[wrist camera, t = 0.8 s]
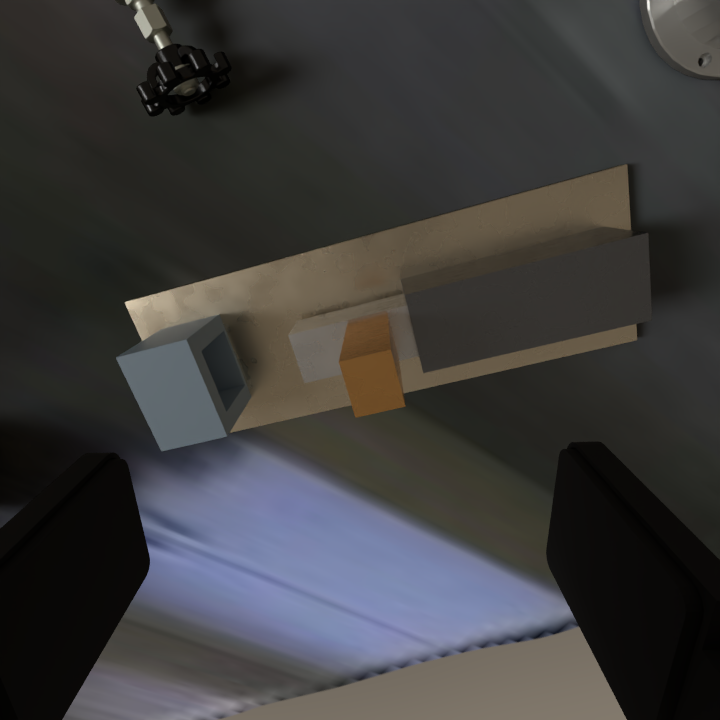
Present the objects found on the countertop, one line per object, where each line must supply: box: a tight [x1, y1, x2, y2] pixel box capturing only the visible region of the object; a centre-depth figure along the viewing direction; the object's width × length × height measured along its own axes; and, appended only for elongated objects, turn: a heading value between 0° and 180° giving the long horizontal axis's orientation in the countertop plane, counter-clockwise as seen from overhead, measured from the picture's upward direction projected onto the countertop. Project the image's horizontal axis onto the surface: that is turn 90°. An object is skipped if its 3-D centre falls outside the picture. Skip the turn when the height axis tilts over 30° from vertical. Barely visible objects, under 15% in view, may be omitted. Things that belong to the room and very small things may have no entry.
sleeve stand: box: [125, 164, 652, 433], centre depth 35 cm, size 41×14×7 cm, turn 105°
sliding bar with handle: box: [288, 294, 419, 417], centre depth 30 cm, size 23×4×12 cm, turn 105°
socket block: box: [116, 314, 251, 451], centre depth 36 cm, size 6×8×7 cm
